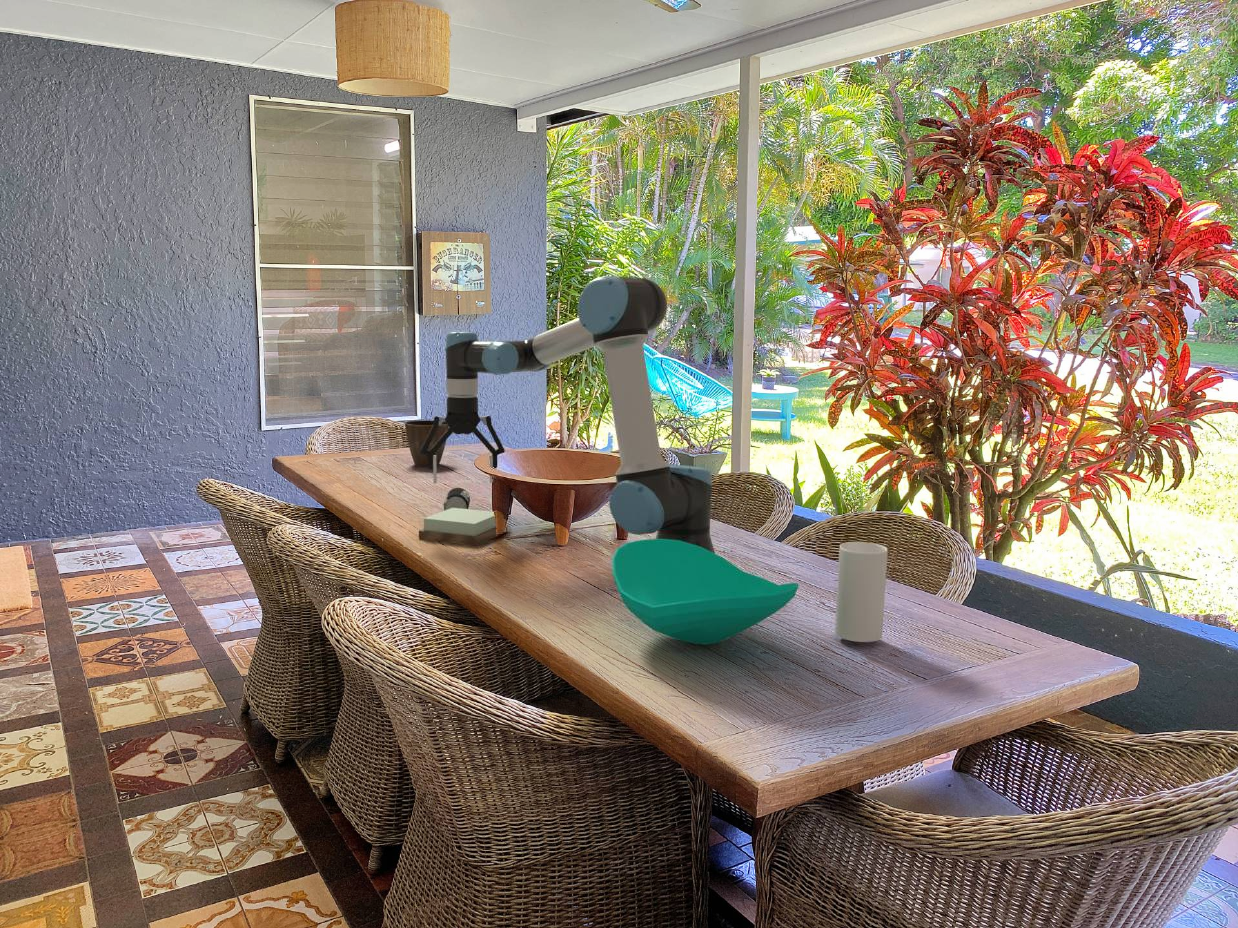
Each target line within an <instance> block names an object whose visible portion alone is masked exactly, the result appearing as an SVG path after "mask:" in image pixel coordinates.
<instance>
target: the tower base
mask: <svg viewBox="0 0 1238 928" xmlns="http://www.w3.org/2000/svg"><path fill="white" fill-rule="evenodd" d="M496 529H497V528H496V527H494V528H492V529H490V530H488V531H485V532H483V533H481V534H479V535H476V536H470V535H461V534H452V533H443V532H434V531H425V530H424V528H422V529H420V530H418V539H419V540H427V541H428V540H429V541H437V542H446V543H453V544H459V543H460V544H461V545H469V546H475V547H479V546H481V545H482V544H485V543H487V542H488V540H489V541H491V540H492V538H493V539H494V537H495V536H496ZM506 530H507V531H508V526H507V527H506ZM495 538H496V537H495ZM486 541H487V542H486Z"/></svg>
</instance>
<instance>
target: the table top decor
mask: <svg viewBox="0 0 1238 928" xmlns="http://www.w3.org/2000/svg"><path fill="white" fill-rule="evenodd" d="M611 563H612V576H613V579H614V583H615V586H616V588H617V591H618V593H619V596H620V598H621V602H622V603H623V604H624V605H625V607H626V608H627V610H628V611H629V612H630V613H631V614H632V615H634V616H635V617H636V618H637V619H638V620H640V621H641V622H642V623H643V624H645V625H646V626H648V628H650V630H652V631H655V632H657V633H659V634H661V635H664V636H667V637H670V638H672V639H674V640H676V641H677V640H678V641H681V642H687V643H691V644H695V645H696V644H697V645H712V644H718V643H722V642H725V641H726V640H728V639H730V638H732V637H734V636H735V635H738V634H740V633H742V632H744V631H746V630H747V629H749V628H752V627H753V626H755V625H757V624H759V623H761V622H763V621H764V620H766V619H767V618H768V617H771V616H772V615H773V614H775V613H777V612H778V611H780V610H781V609H783V608H784V607H785V606H786V605H787V604H788V603H789V602H791V601H792V599H794V598H795V597H796V593H797V591H798V589H799V584H798V583H799V582H790V583H784V584H783V583H782V584H777V583H774V581H773V582H772V581H770V580H768V579H765V578H763V577H760V576H758V575H755V574H753V573H749V572H746V571H743V569H741V568H739V567H737V566H736V565H735V564H733V563H732V562H731V561H729V560H727V559H725V557H722V556H720V555H718V554H717V553H716V552H715V553H712V552H710V551H708V550H706V549H704V548H702V547H700V546H696V545H693V544H690V543H686V542H683V541H679V540H669V539H656V538H653V539H652V538H649V539H647V538H646V539H638V540H634V541H629V542H627V543H625V544H623V545H621V546H620V547H617V548H616V550H615V553H614V555H613V557H612V559H611Z"/></svg>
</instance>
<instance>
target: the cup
mask: <svg viewBox="0 0 1238 928" xmlns="http://www.w3.org/2000/svg"><path fill="white" fill-rule="evenodd" d="M838 554H839V555H838V571H837V572H838V574H837V585H836V586H837V590H836V608H835V621H834V622H835V623H834V625H835V626H834V633H835V635H836V636H837V637H839V638H840V639H843V640H847V641H850V642H856V643H857V642H858V643H872V642H877V641H879V640H881V639H883V629H884V628H883V627H884V616H885V615H884V612H885V599H886V598H885V597H886V584H887V583H886V582H887V581H886V580H887V569H888V567H887V566H888V548H887V547H886V546H885V545H881V544H877V543H873V542H866V541H847V542H843V543H841V544H840V545H839V552H838Z"/></svg>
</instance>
